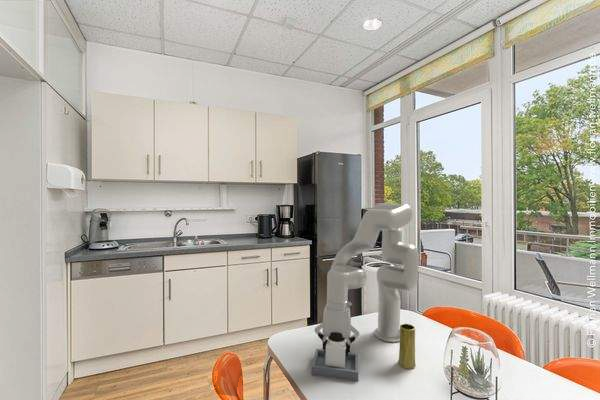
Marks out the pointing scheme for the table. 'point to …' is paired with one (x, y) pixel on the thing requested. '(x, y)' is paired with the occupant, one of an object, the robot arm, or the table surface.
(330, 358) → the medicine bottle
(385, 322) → the robot arm
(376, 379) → the table surface
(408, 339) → the vase
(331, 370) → the tray
